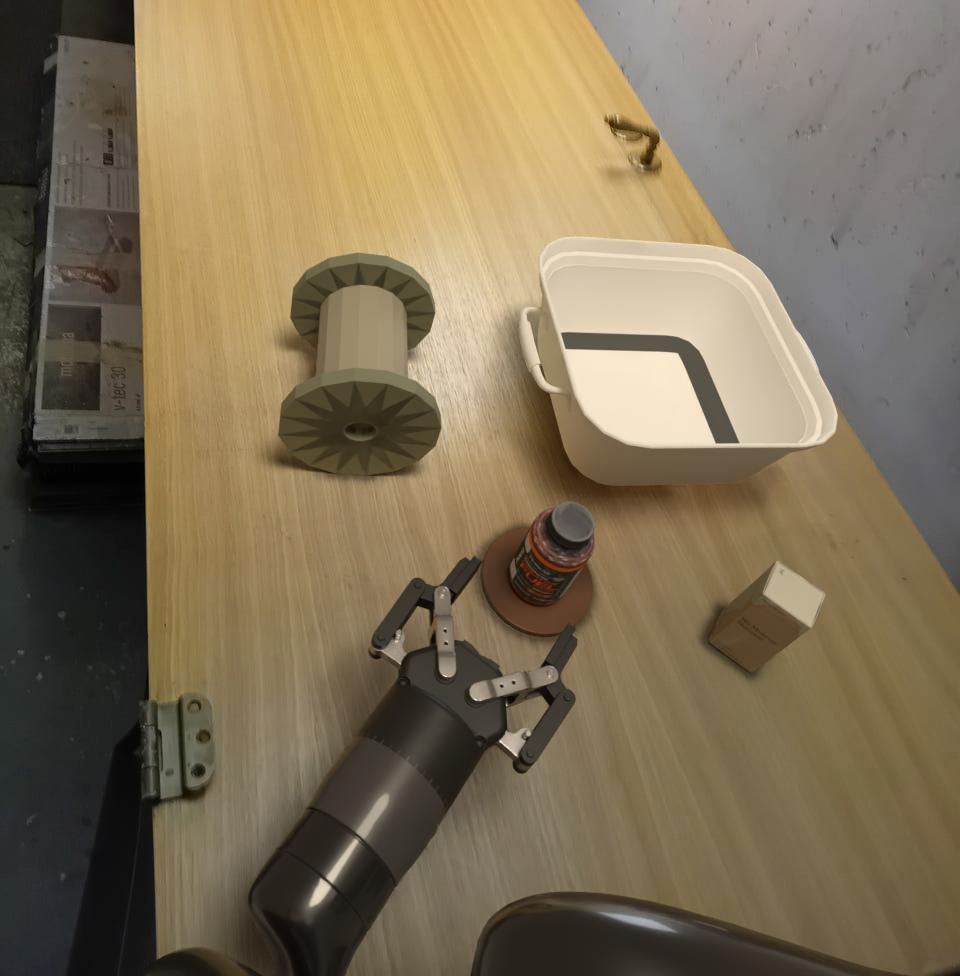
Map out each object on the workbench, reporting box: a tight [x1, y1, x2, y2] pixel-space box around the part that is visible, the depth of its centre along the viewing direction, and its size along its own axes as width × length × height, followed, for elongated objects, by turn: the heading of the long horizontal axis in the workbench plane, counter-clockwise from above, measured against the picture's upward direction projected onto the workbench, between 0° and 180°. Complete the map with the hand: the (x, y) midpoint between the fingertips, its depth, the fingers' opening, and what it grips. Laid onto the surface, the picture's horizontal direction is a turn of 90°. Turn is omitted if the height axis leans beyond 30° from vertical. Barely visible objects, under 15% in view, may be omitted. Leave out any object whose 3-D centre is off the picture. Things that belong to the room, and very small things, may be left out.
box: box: [708, 560, 826, 674], centre depth 79 cm, size 5×4×11 cm
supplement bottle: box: [509, 500, 596, 605], centre depth 77 cm, size 6×6×11 cm
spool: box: [277, 252, 443, 477], centre depth 85 cm, size 16×15×15 cm
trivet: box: [481, 526, 594, 637], centre depth 82 cm, size 11×11×1 cm
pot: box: [517, 235, 839, 487], centre depth 94 cm, size 34×29×15 cm
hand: (521, 595), depth 64 cm, fingers open, 8 cm apart
